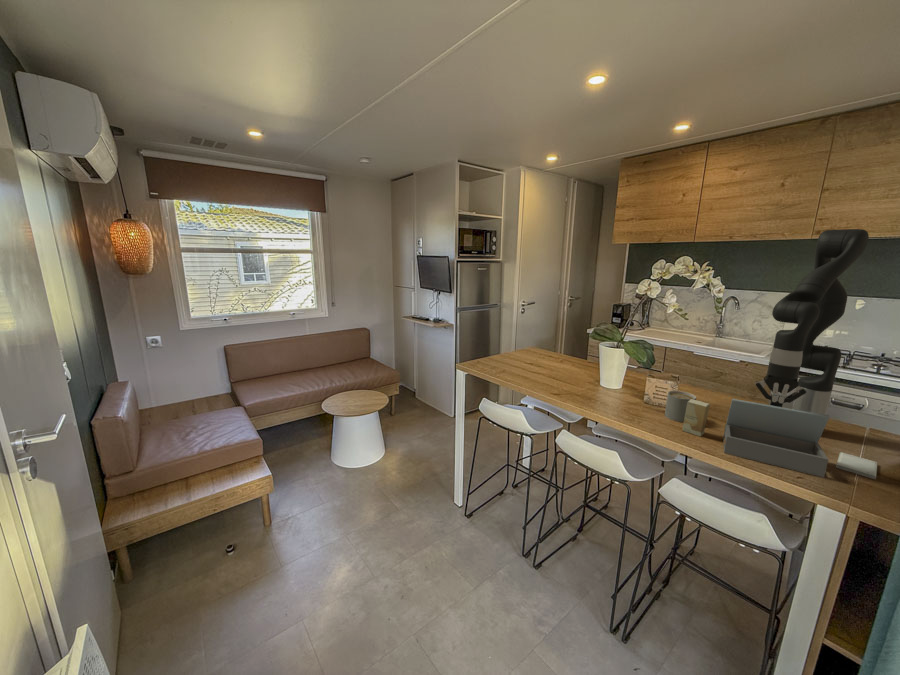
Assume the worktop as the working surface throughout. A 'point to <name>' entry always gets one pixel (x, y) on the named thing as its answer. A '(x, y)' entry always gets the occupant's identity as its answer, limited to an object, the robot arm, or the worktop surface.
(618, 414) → the worktop surface
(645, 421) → the worktop surface
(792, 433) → the cover
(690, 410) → the skincare box
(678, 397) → the coffee mug
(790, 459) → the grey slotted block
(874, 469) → the hard drive
